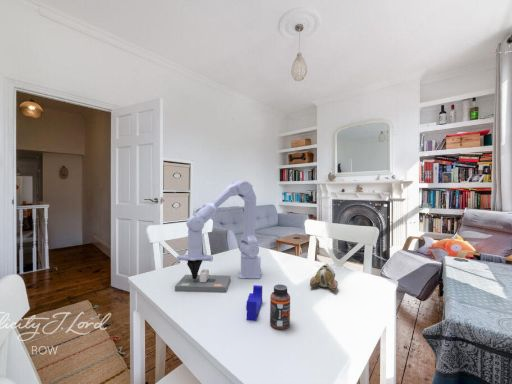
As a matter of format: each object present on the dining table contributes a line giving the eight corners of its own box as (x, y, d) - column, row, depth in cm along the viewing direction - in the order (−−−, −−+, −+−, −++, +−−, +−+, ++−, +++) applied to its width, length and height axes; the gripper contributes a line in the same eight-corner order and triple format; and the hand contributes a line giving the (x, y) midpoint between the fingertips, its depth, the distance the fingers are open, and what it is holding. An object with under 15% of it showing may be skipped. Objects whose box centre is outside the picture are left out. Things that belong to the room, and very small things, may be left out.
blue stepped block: (249, 301, 84) (249, 284, 84) (262, 302, 83) (262, 285, 83) (241, 320, 72) (241, 300, 72) (256, 321, 72) (256, 302, 71)
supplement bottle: (284, 332, 66) (285, 293, 66) (266, 326, 69) (266, 288, 69) (293, 322, 71) (293, 285, 71) (275, 316, 74) (275, 281, 74)
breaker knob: (208, 277, 99) (208, 269, 99) (205, 282, 94) (205, 273, 94) (202, 277, 100) (203, 269, 99) (199, 282, 94) (199, 273, 94)
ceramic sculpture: (339, 261, 102) (336, 275, 89) (339, 280, 103) (336, 297, 89) (314, 258, 107) (308, 271, 93) (315, 276, 107) (308, 292, 94)
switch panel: (230, 280, 103) (230, 275, 103) (225, 292, 91) (226, 287, 91) (185, 279, 103) (185, 274, 103) (175, 291, 91) (175, 285, 91)
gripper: (174, 247, 93) (174, 281, 93) (210, 248, 93) (210, 282, 93) (180, 243, 100) (180, 274, 100) (214, 243, 100) (214, 275, 100)
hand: (195, 277), depth 97 cm, fingers closed
